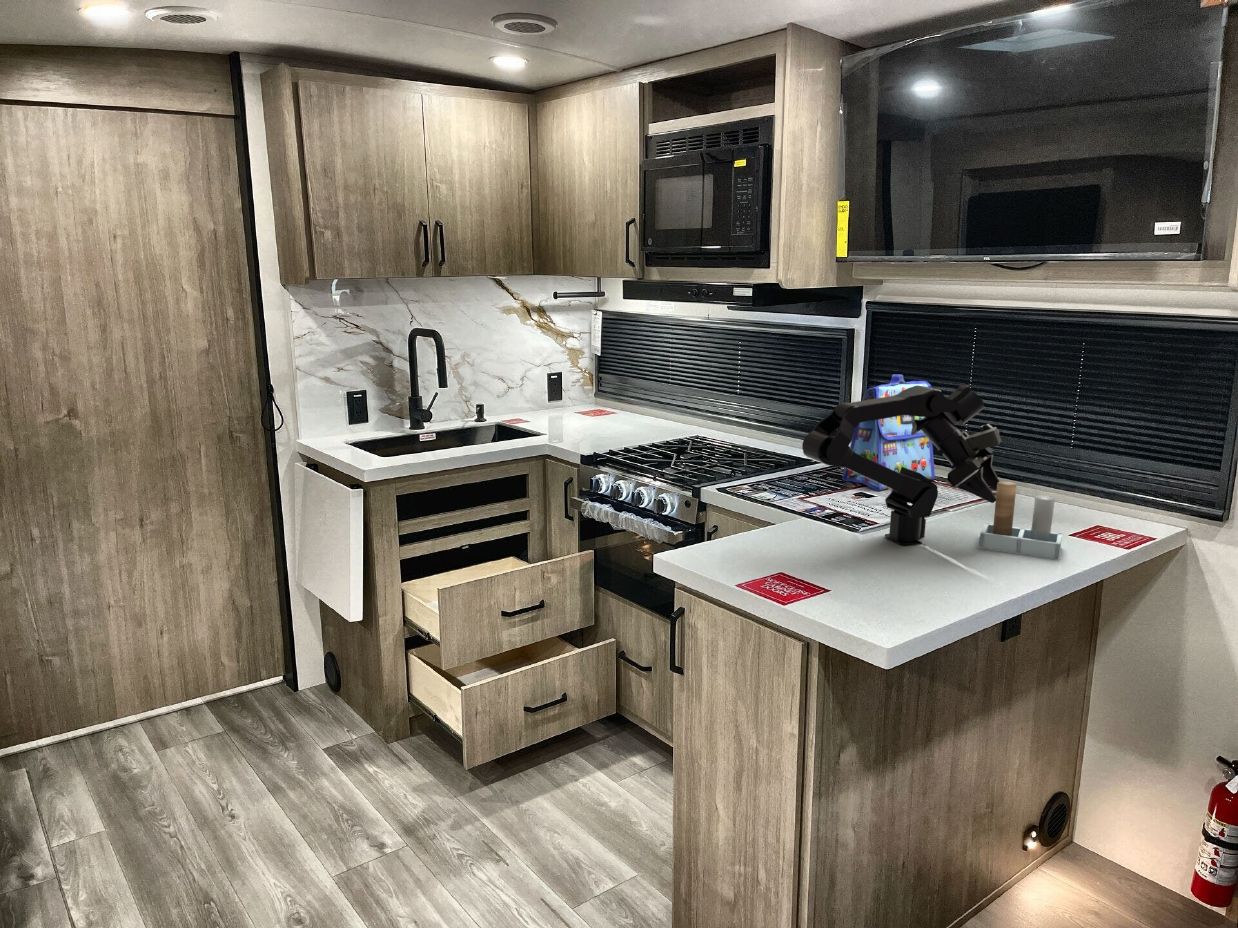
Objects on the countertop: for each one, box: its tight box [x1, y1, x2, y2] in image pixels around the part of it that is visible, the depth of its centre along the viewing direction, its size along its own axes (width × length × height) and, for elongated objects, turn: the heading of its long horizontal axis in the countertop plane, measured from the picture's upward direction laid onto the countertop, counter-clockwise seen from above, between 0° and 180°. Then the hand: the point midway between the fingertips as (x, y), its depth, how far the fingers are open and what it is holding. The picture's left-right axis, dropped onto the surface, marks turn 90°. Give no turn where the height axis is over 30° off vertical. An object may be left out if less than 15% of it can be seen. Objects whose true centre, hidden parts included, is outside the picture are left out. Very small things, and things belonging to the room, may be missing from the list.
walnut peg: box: [992, 481, 1018, 536], centre depth 184 cm, size 4×4×13 cm
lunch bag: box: [842, 373, 936, 491], centre depth 236 cm, size 22×14×29 cm, turn 122°
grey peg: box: [1030, 495, 1056, 542], centre depth 181 cm, size 4×4×11 cm
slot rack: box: [977, 522, 1063, 561], centre depth 183 cm, size 15×9×4 cm, turn 62°
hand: (998, 496), depth 183 cm, fingers open, 9 cm apart
